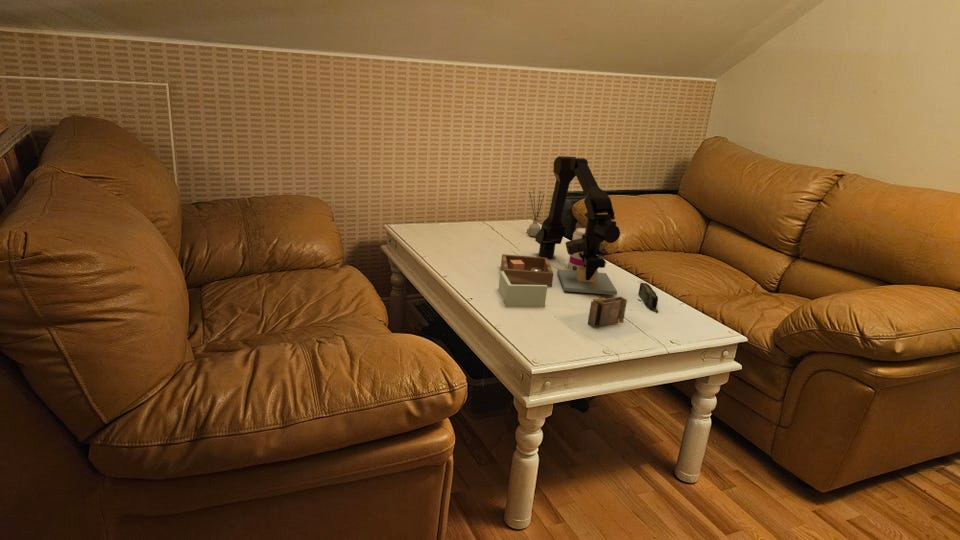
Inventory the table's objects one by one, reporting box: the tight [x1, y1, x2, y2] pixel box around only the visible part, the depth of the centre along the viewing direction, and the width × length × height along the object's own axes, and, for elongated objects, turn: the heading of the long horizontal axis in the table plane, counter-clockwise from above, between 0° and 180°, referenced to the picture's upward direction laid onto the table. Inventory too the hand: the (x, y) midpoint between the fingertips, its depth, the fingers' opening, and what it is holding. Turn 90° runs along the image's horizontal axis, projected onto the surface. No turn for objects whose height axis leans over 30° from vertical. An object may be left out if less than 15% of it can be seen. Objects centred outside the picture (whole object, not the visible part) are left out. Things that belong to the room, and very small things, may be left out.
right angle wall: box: [498, 270, 548, 308], centre depth 186 cm, size 12×12×8 cm
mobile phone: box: [638, 282, 659, 313], centre depth 192 cm, size 5×3×15 cm
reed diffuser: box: [526, 188, 545, 237], centre depth 250 cm, size 10×7×20 cm
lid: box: [556, 267, 618, 296], centre depth 200 cm, size 17×17×5 cm
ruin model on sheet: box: [587, 296, 628, 329], centre depth 174 cm, size 11×3×10 cm, turn 120°
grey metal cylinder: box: [531, 267, 542, 272], centre depth 201 cm, size 4×4×4 cm
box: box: [500, 253, 554, 288], centre depth 203 cm, size 16×16×6 cm
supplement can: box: [568, 227, 586, 271], centre depth 215 cm, size 8×8×15 cm
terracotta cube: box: [509, 260, 525, 270], centre depth 206 cm, size 4×4×4 cm
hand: (586, 278), depth 200 cm, fingers closed on lid, 3 cm apart
